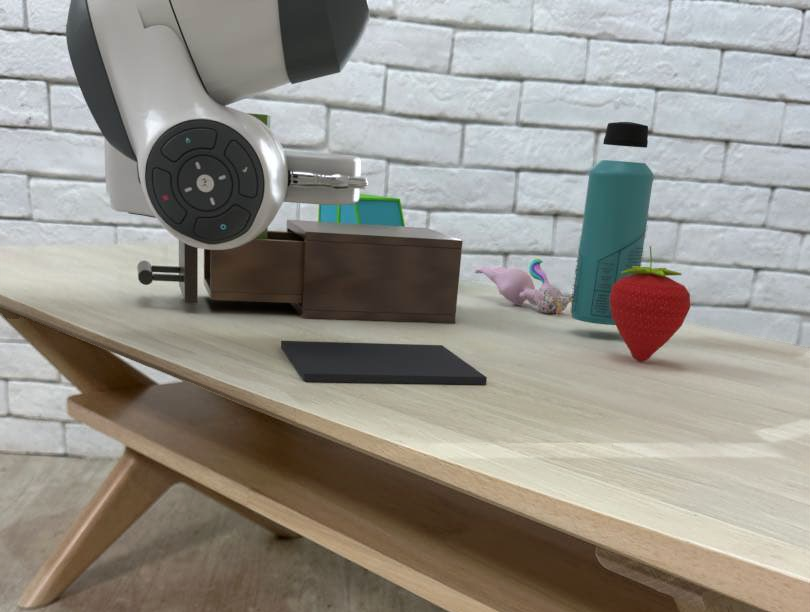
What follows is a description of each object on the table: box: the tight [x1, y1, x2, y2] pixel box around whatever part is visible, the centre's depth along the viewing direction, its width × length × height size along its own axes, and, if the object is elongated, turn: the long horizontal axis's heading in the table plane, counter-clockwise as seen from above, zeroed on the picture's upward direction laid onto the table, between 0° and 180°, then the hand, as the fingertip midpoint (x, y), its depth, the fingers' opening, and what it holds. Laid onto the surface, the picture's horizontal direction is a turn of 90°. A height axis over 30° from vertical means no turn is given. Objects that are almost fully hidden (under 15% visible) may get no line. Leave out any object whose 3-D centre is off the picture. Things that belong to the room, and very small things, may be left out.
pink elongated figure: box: [474, 258, 573, 317], centre depth 115 cm, size 6×6×15 cm
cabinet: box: [285, 219, 464, 324], centre depth 103 cm, size 16×13×8 cm
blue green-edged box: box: [317, 193, 406, 227], centre depth 124 cm, size 10×13×10 cm
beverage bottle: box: [569, 121, 655, 326], centre depth 98 cm, size 6×7×20 cm
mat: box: [280, 340, 488, 386], centre depth 79 cm, size 14×12×1 cm
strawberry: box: [609, 245, 691, 362], centre depth 87 cm, size 6×8×10 cm
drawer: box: [136, 230, 305, 304], centre depth 100 cm, size 19×11×6 cm, turn 105°
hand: (241, 168), depth 86 cm, fingers open, 8 cm apart
